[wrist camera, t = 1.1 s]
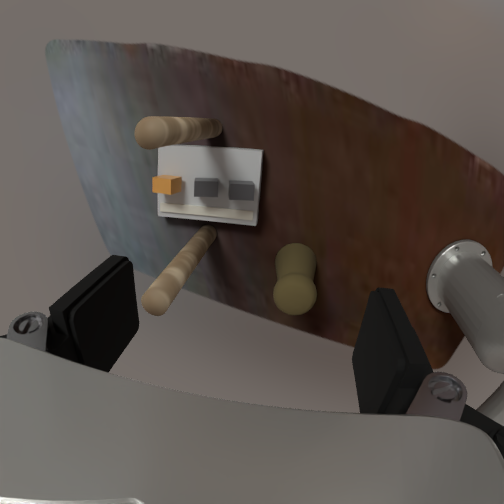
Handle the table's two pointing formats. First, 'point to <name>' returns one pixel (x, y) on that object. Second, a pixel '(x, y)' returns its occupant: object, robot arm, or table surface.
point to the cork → (295, 279)
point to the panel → (210, 166)
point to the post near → (174, 130)
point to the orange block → (167, 184)
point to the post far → (177, 272)
